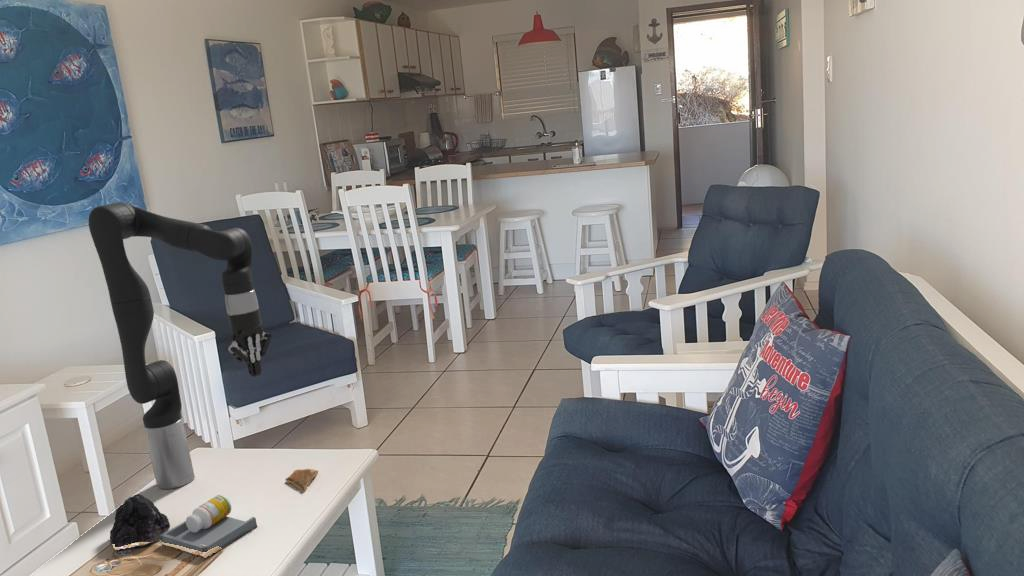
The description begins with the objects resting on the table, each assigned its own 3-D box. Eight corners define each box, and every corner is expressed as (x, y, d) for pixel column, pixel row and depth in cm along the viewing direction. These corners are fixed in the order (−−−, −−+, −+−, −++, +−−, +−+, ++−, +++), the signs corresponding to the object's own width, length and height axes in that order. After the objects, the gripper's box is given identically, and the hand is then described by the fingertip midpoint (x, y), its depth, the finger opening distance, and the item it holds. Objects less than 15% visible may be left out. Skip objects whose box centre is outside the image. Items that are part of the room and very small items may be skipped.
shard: (305, 494, 197) (303, 487, 196) (276, 495, 198) (274, 489, 197) (320, 474, 207) (319, 468, 207) (292, 476, 208) (291, 469, 208)
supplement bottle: (222, 517, 189) (190, 538, 181) (211, 497, 189) (179, 517, 181) (235, 510, 187) (204, 532, 178) (224, 491, 187) (192, 511, 178)
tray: (162, 544, 179) (160, 535, 178) (213, 515, 190) (211, 506, 190) (206, 558, 170) (204, 548, 170) (257, 526, 182) (255, 517, 181)
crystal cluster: (146, 557, 176) (142, 515, 174) (93, 551, 179) (89, 510, 177) (183, 529, 188) (179, 490, 187) (133, 525, 191) (130, 486, 190)
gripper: (254, 302, 203) (266, 365, 206) (211, 316, 192) (224, 383, 196) (273, 302, 199) (286, 368, 202) (231, 317, 188) (244, 385, 192)
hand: (255, 375), depth 199 cm, fingers closed
